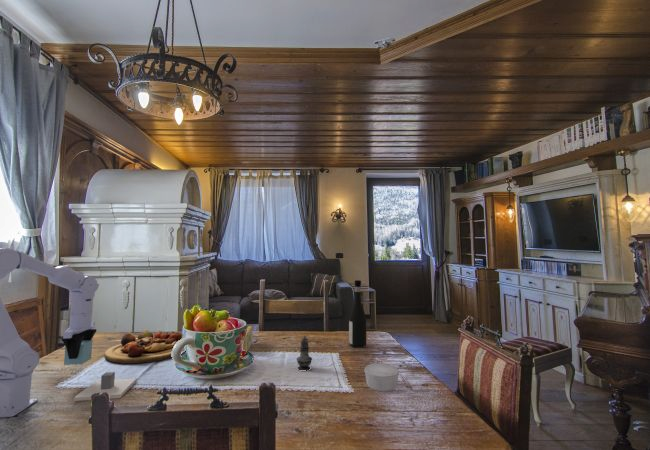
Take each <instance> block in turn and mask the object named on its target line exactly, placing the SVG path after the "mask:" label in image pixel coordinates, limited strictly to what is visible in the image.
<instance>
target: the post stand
mask: <svg viewBox="0 0 650 450" xmlns="http://www.w3.org/2000/svg"><path fill="white" fill-rule="evenodd" d="M115 376H116V374H115V371H111V372H110V371H109V372H108V371H107V372H104V373H103V374H102V375H101V380H95V381H93V382H92V383H91V384H90V385H89V386H88V385H87V387H85V388H84V389H83V390H82V391H81V392H79V393H78V394H77V395H75V396H74V398H73V402H81V401H92V400H91V395H92V394H94V393H98V392H107V393H109V395H110V399H109V400H111V399H120V398H122V397H123V396H124V395H125V394H126V393H127V392H128V391H129V390H130V389H131V388H132V387H133V386H134V385H135V384H136V382H137V378H124V379H115Z"/></svg>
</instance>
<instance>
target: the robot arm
mask: <svg viewBox="0 0 650 450" xmlns="http://www.w3.org/2000/svg"><path fill="white" fill-rule="evenodd" d="M15 269H16V270H20V269H22V270H25V271H27V272H31V273H34V274H37V275H40V276H43V277H47V280H48V282H49V283H50V284H52V285H55V286H57V287H60V288H64V289H66V290H68V292H70V293H71V300H70V301H71V304H70V313H69V327H68V328H67V329H66V330H65V331H63V333H62V334H63V335H62V336H61V342H63V345H64V346H66V349H67V353H68V357H69V359H76V358H77V357H78V355H79V350H80V346H81V343H82V341H84V340H92V339H93V338H94V336H95V334H96V333H97V329H96V322H95V321H92V320H93V305H94V304H93V303H94V297H95V293H97V290H98V289H99V286H100V284H99V283H98V281H97V278H95V277H94V276H91V275H85V273H84V272H83V271H79V272H78V271H76V270H74V269H72V268H71V266H70V265H59V266H53V265H52V264H49V263H47V262H44V261H42V260H41V259H37V257H33V256H31V255H29V254H27V253H25V252H22V251H19V250H15V249H13V248H11V247H2V248H0V282H1V281H2V280H3V279H4V278H6V276H8V275H9V274H11V273H12V272H13V271H14V270H15ZM92 341H93V340H92ZM39 362H40V354H39V353H38V352H37V351H36V350H34V349H32V347H31V346H30V344H29V343H28V342H26V340H24V339H22V338H21V336H20V335H19V333H18V330H17V329H16V326H15V325H14V322H13V321H12V319H11V316H10V314H9V312H8V311H7V308H6V306H5V304H4V302H3V299H2V298H1V297H0V418H12V417H15V416H16V415H18V414H19V413H20V412H23V410H25V409H27V408H28V407H30V406H31V405H33V404H35V403H36V402H38V401H39V399H38V398H31V393H32V392H31V389H32V376H33V372H34V370H35V369H36V368H37V366H38V365H39Z"/></svg>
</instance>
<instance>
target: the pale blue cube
mask: <svg viewBox="0 0 650 450" xmlns="http://www.w3.org/2000/svg"><path fill="white" fill-rule="evenodd" d="M64 346H65V345H64ZM64 348H65V349H64V358H63V366H68V365H71V366H72V365H83V364H84V363H86V362H88V361H91V359H92V353H93V352H92V350H93V340H84V341H82V343H81V346H80V350H79V355H78V357H77V358H76V359H69V357H68V353H67V349H66V346H65V347H64Z"/></svg>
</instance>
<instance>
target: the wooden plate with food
mask: <svg viewBox="0 0 650 450" xmlns="http://www.w3.org/2000/svg"><path fill="white" fill-rule="evenodd" d="M171 332H172V333H169V332H162V330H160V331H158V332H156V333H155V334H153V333H152V331H150V330H148V329H145V330H143V331H142V332H141V333H139V335H138V336H137V339H136V336H135V334H133V333H132V332H130V331H128V332H126V333H125V334H124V335H123V336H122V337H121V339H120V344H116V345H114V346H111V347H109V348H107V350H106V351H105V352H104V353H103V357H104V359H105V360H107V361H109V362H113V363H117V364H141V363H142V364H144V363H153V362H159V361H163V360H164V359H165V360H168V358H169V359H172V358H171V351H172V348H173V346H174V344H175V343H176V342H177V341H178V340H180V339H181V338H183V334H181V333H180V332H176V333H175V332H174V331H171ZM181 340H182V339H181Z"/></svg>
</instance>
